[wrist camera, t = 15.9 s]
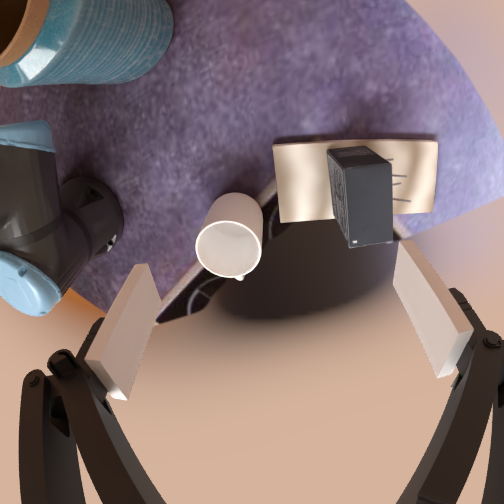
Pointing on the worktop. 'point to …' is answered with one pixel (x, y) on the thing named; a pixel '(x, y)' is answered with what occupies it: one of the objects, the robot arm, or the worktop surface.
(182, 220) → the worktop surface
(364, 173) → the small box
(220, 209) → the mug
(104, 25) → the vase
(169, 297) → the worktop surface
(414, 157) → the board
